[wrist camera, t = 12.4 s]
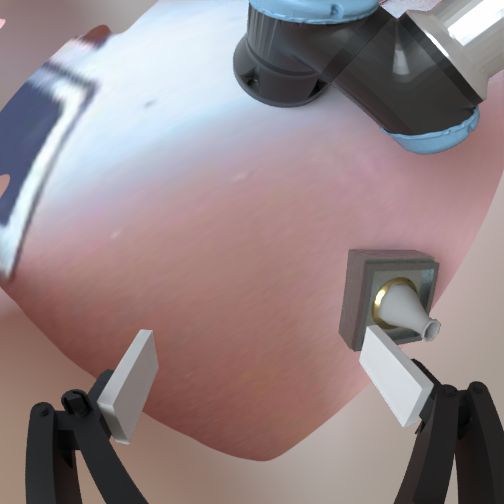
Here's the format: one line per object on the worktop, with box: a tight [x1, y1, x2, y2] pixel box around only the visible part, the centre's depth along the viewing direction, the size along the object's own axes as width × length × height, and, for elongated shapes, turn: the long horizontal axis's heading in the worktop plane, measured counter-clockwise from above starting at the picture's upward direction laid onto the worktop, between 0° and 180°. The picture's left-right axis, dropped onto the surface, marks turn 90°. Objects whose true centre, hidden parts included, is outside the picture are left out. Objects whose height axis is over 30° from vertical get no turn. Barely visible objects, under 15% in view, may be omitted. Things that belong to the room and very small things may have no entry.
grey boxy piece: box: [339, 250, 439, 352], centre depth 40 cm, size 15×14×8 cm
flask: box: [378, 283, 441, 341], centre depth 33 cm, size 7×7×10 cm
